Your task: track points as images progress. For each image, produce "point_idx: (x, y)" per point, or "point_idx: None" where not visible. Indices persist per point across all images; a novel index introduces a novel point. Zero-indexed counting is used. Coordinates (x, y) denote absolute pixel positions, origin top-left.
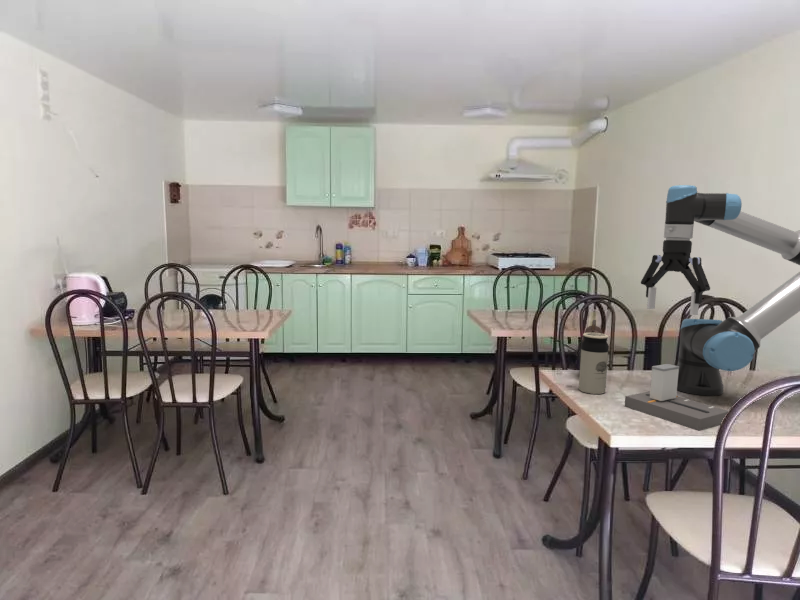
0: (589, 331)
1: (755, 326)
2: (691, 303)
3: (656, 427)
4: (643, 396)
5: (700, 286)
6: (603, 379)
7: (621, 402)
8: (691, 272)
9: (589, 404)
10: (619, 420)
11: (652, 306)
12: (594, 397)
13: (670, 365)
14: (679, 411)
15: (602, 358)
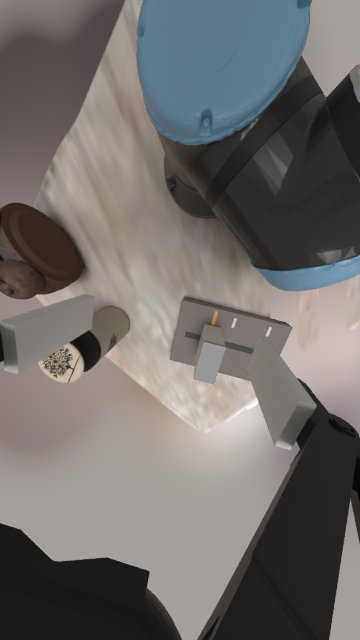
0: (2, 290)
1: None
2: (260, 398)
3: (224, 395)
4: (185, 345)
5: (355, 507)
6: (121, 334)
7: (162, 341)
8: (322, 629)
9: (143, 373)
10: (189, 399)
11: (87, 312)
12: (131, 345)
13: (212, 350)
14: (239, 373)
15: (105, 352)
